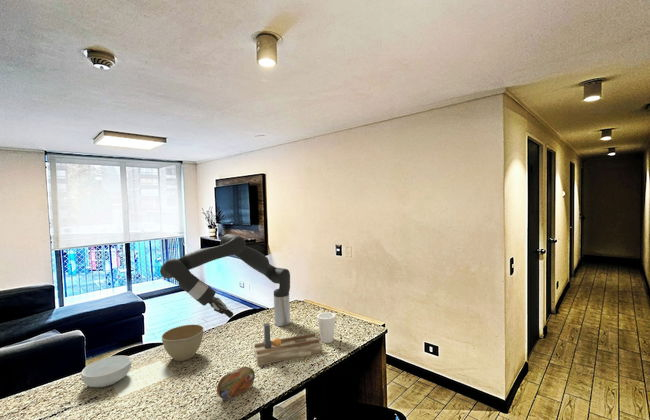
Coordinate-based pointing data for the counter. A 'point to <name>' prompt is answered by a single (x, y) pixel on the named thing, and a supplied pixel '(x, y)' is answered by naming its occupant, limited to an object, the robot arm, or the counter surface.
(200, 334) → the deep beige bowl
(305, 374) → the counter surface
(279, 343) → the ball
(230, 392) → the tin
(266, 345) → the plunger
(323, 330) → the foam cup
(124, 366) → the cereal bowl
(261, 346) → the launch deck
